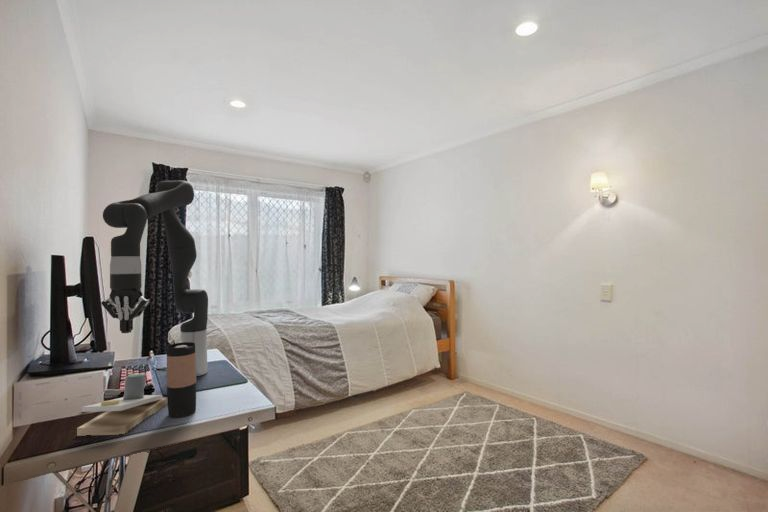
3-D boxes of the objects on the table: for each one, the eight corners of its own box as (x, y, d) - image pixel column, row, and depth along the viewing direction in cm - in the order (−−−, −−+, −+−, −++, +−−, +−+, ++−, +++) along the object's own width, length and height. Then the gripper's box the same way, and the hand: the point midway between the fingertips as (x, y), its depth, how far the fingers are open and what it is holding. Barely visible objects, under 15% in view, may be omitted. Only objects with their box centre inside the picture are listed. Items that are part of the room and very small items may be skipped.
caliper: (89, 410, 115) (88, 389, 115) (87, 409, 116) (86, 389, 116) (154, 388, 134) (154, 370, 134) (152, 388, 134) (152, 370, 134)
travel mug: (169, 410, 113) (168, 343, 113) (198, 406, 116) (196, 341, 116) (165, 420, 106) (163, 349, 106) (195, 415, 109) (194, 346, 109)
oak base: (127, 405, 118) (127, 398, 118) (166, 404, 118) (166, 397, 118) (77, 435, 98) (77, 428, 98) (124, 434, 98) (124, 426, 98)
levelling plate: (128, 399, 117) (131, 372, 118) (161, 398, 117) (164, 372, 119) (82, 411, 98) (86, 379, 100) (121, 410, 98) (124, 378, 100)
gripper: (156, 271, 113) (157, 329, 113) (111, 272, 113) (112, 330, 112) (141, 272, 105) (141, 334, 105) (92, 273, 105) (93, 335, 105)
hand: (126, 332), depth 109 cm, fingers closed
